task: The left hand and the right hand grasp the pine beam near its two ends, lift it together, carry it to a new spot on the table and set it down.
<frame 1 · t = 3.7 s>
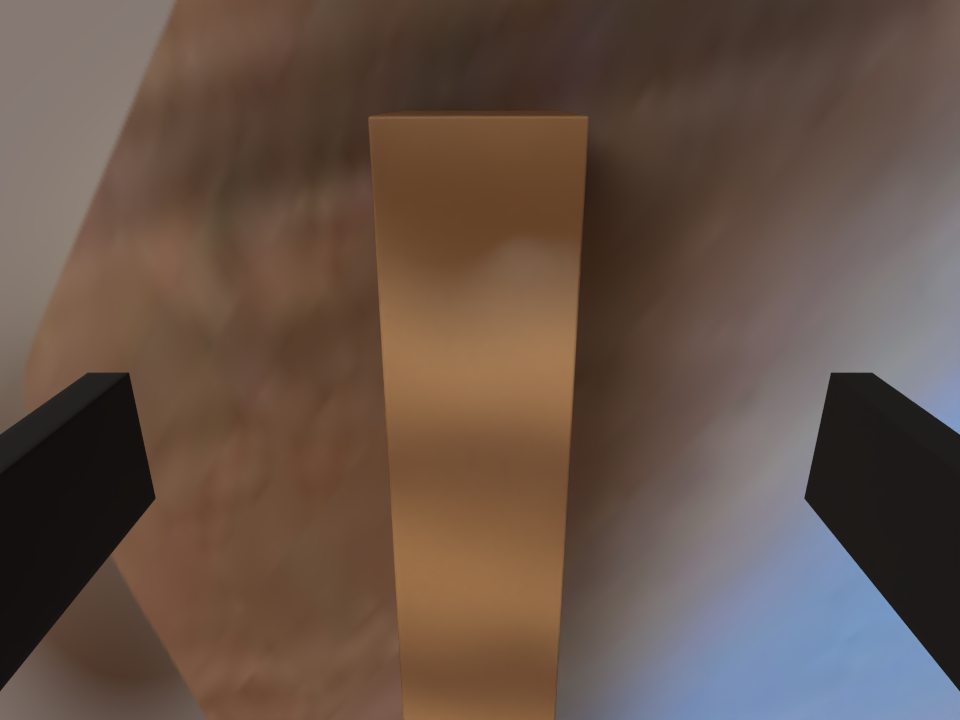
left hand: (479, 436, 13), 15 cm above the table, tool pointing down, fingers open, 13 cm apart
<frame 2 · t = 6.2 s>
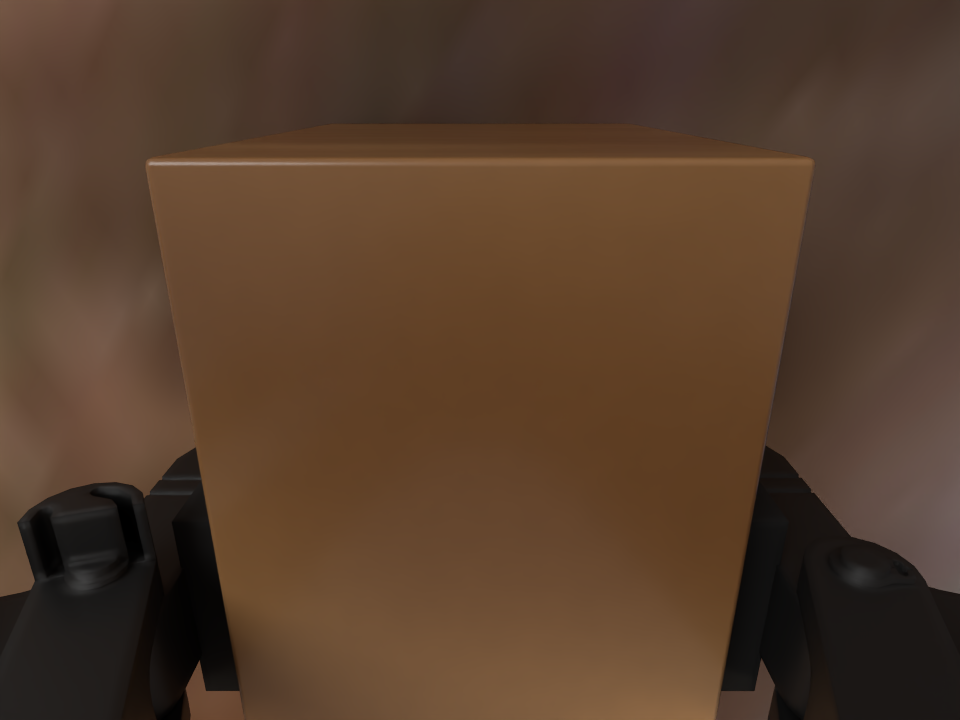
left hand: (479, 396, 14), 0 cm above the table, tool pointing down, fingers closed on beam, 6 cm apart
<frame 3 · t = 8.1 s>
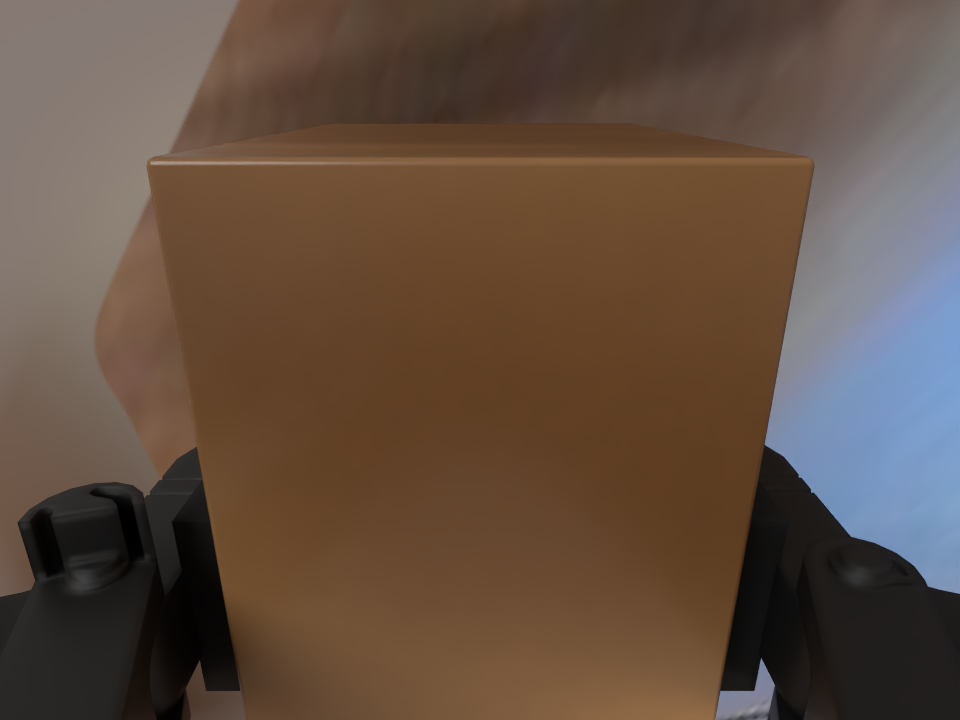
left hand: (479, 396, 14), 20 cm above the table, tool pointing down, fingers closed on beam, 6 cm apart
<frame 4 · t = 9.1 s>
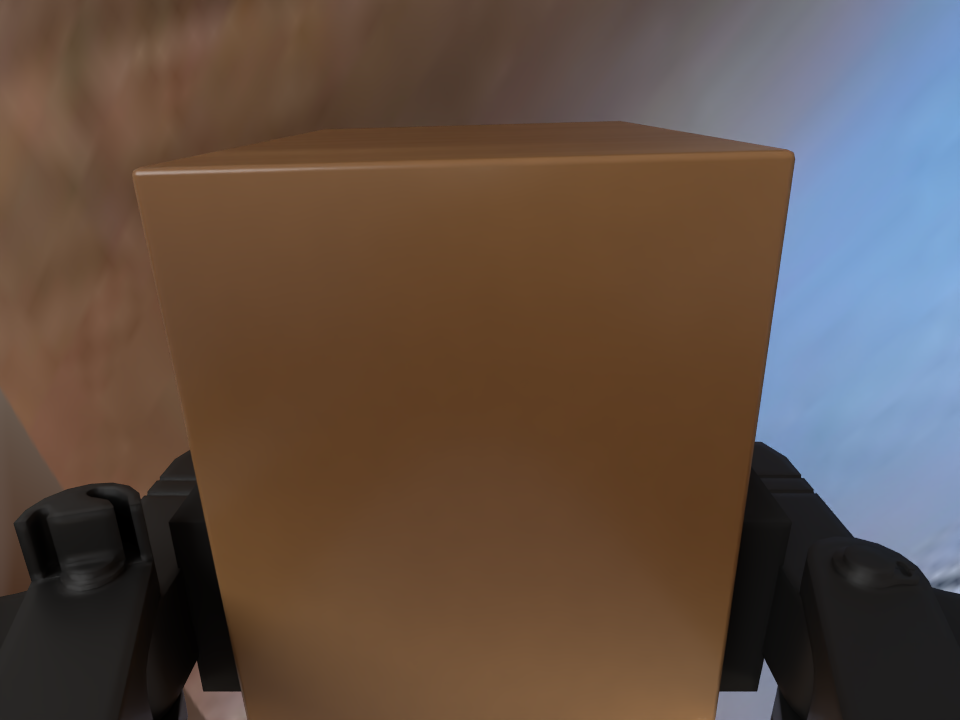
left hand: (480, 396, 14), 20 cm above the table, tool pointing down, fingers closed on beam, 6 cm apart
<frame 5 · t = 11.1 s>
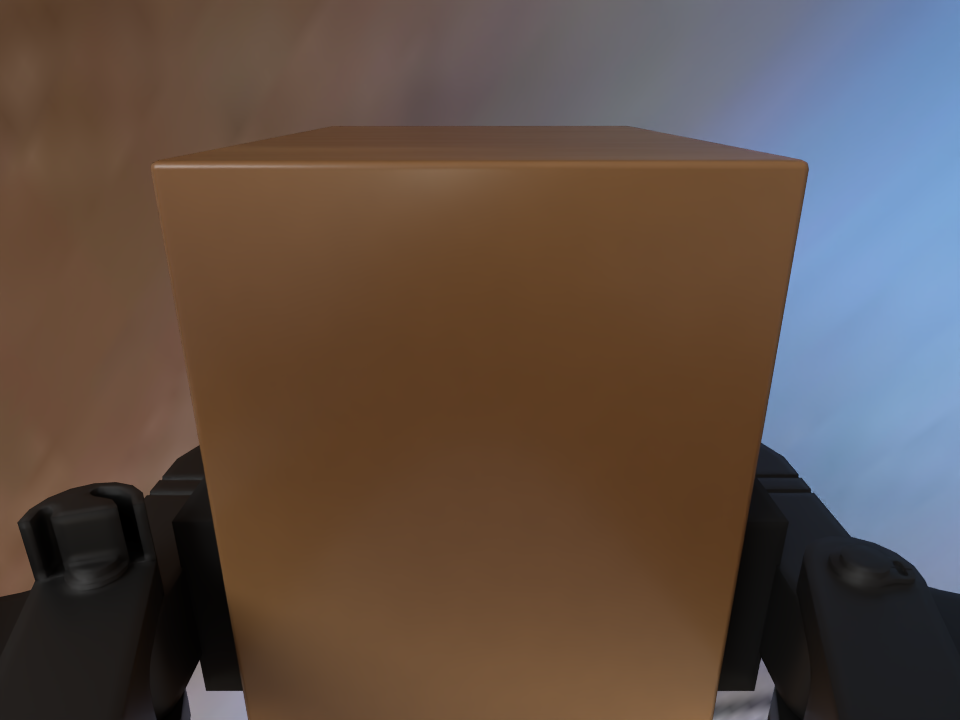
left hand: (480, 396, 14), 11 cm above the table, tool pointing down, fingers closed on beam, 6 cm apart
when the left hand's fingers open (2 cm above the table, at t = 12.5 s): beam drops 1 cm, on the table.
when the right hand's fingers open (2 cm above the table, at t = 12.5 s): beam drops 1 cm, on the table.
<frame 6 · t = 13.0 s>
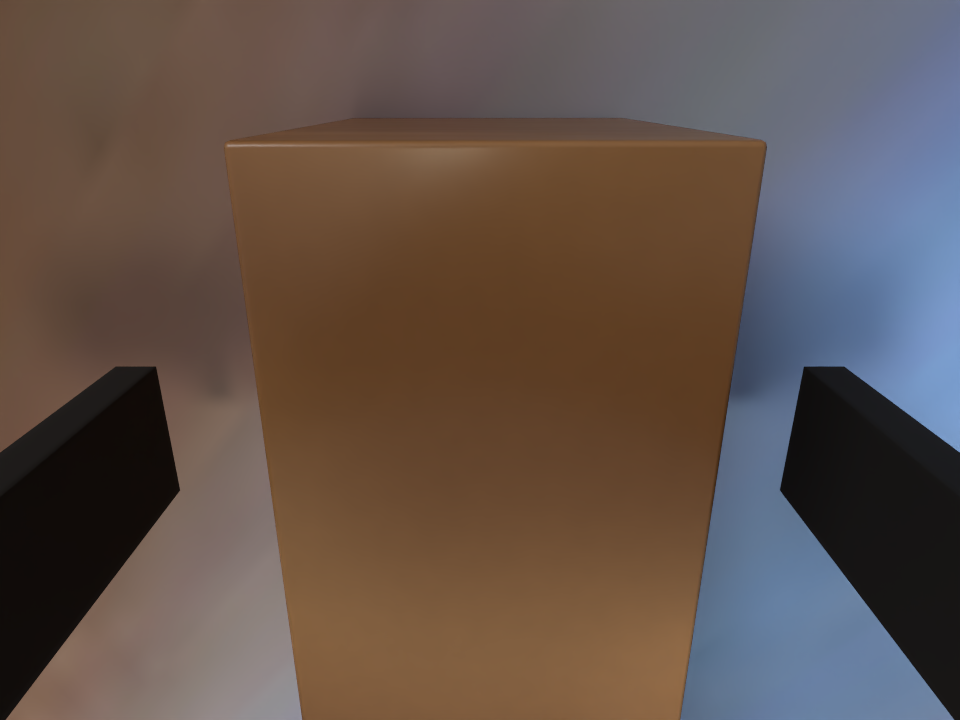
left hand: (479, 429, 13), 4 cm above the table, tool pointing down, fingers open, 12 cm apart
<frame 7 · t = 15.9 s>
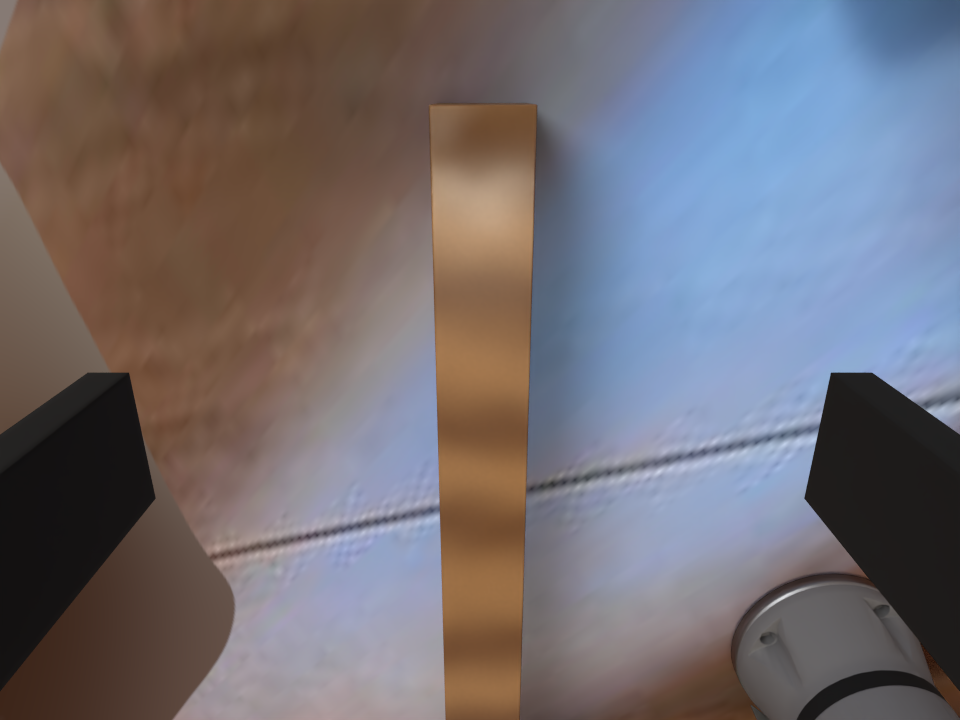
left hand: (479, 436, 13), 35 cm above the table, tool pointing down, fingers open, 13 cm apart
beam: (482, 572, 57), on the table
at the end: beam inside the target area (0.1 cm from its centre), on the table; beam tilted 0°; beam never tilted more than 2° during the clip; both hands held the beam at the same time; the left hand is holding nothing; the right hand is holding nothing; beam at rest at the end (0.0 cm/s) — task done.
